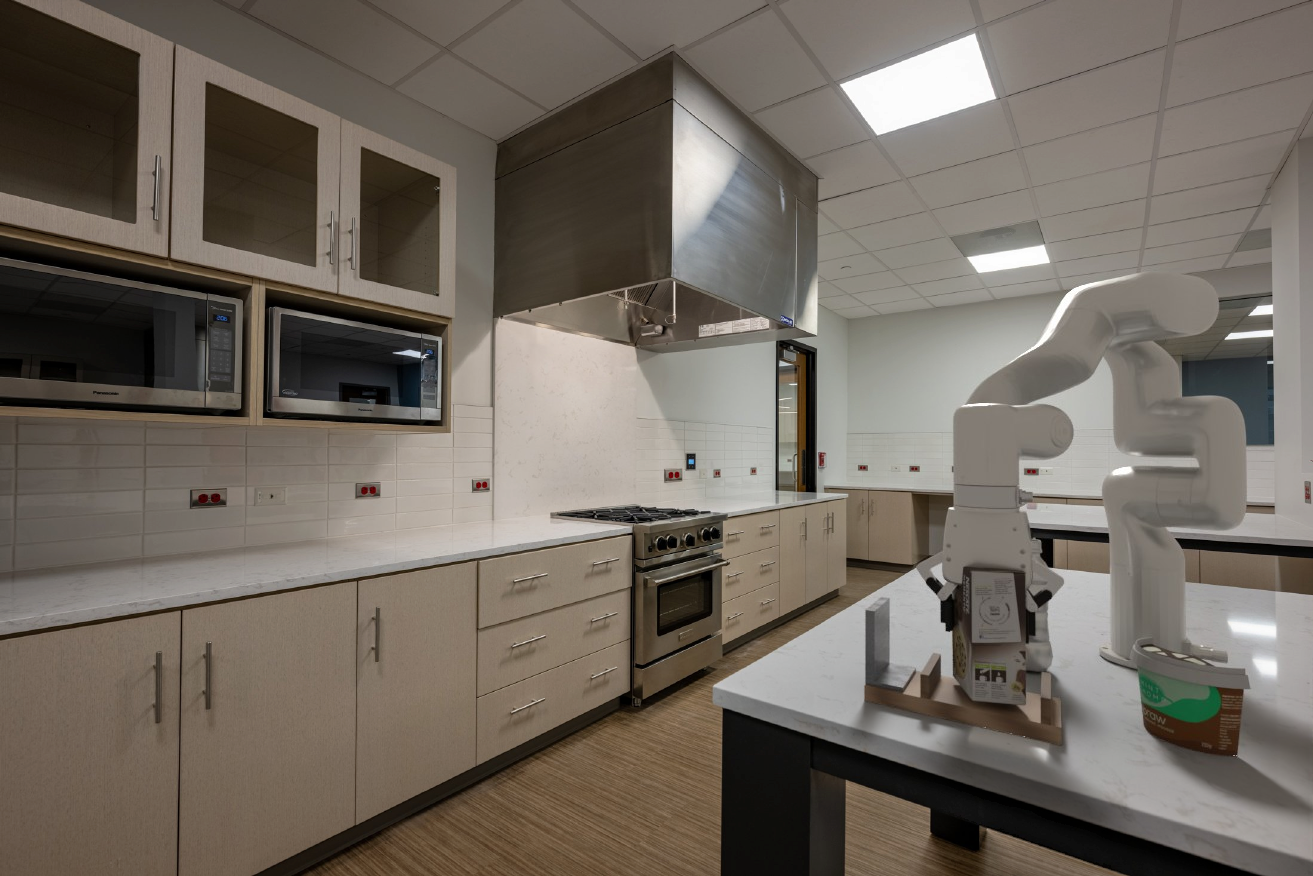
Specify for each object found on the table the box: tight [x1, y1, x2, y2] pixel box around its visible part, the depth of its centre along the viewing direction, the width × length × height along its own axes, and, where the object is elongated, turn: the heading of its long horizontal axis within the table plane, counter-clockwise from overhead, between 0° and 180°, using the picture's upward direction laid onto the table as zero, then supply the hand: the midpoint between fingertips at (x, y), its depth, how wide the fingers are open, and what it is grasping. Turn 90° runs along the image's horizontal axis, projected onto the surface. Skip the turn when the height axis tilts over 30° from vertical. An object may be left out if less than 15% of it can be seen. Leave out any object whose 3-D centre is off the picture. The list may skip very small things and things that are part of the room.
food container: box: [1130, 637, 1251, 757], centre depth 72 cm, size 12×6×10 cm, turn 5°
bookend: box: [864, 596, 917, 692], centre depth 84 cm, size 5×9×10 cm, turn 147°
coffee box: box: [951, 567, 1027, 705], centre depth 78 cm, size 9×6×16 cm
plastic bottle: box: [1026, 538, 1054, 672], centre depth 94 cm, size 6×7×20 cm
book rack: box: [863, 652, 1063, 746], centre depth 79 cm, size 22×10×5 cm, turn 57°
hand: (986, 634), depth 78 cm, fingers closed on coffee box, 8 cm apart
